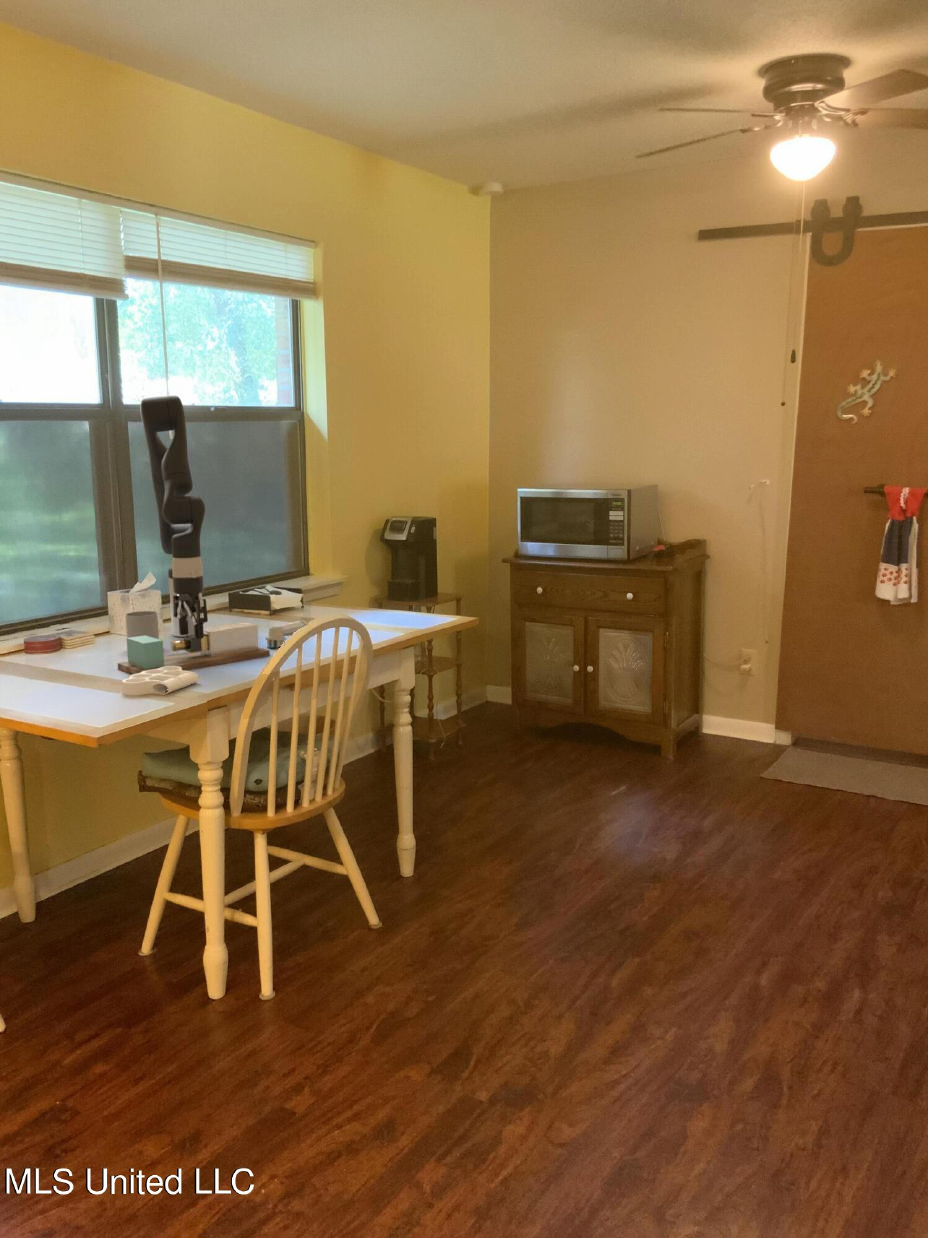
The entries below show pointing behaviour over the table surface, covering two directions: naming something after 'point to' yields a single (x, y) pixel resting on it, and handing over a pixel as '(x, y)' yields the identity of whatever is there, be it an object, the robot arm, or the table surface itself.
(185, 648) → the plug
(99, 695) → the table surface
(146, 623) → the cup
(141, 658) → the teal rectangular block
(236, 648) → the sleeve
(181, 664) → the base board
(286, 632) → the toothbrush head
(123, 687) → the knuckle duster
